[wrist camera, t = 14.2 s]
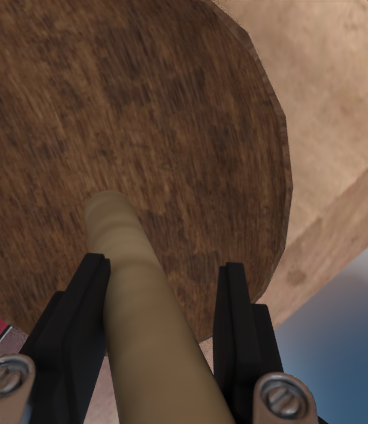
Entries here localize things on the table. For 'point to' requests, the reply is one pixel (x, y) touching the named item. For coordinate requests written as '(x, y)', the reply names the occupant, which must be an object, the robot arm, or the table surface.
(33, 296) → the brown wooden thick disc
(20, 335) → the table surface
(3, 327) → the smartphone
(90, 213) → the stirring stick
